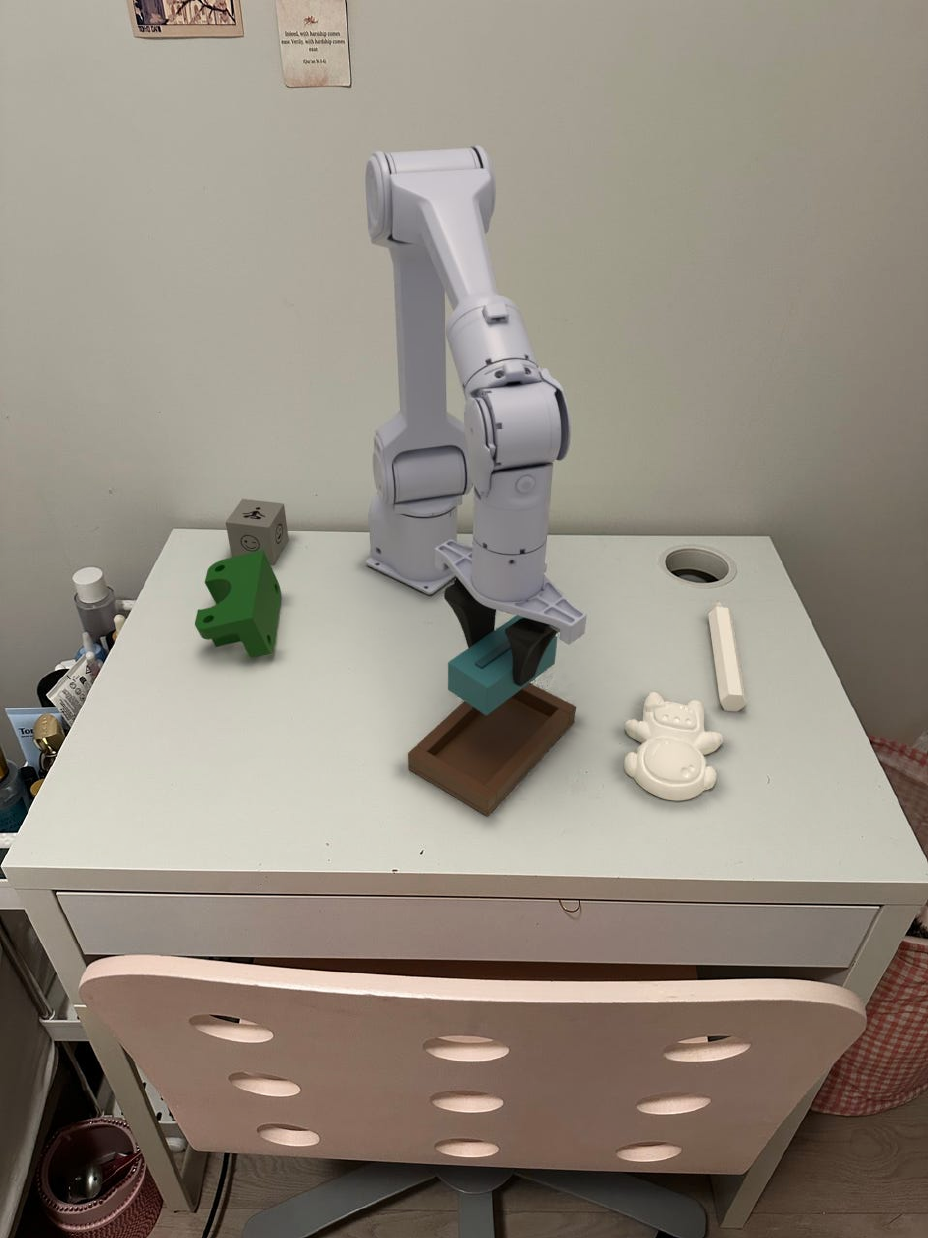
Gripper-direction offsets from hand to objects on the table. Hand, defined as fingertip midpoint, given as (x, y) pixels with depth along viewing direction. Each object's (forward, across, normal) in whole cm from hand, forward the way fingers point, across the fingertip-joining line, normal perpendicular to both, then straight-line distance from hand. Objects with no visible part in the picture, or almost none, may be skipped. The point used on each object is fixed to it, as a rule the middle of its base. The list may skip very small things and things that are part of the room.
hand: (502, 665), depth 80 cm
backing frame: (+8, -1, +1) cm, 9 cm away
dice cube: (+8, +39, -2) cm, 40 cm away
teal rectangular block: (+1, 0, 0) cm, 1 cm away
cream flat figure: (+9, -12, -10) cm, 18 cm away
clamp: (+9, +29, +7) cm, 31 cm away
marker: (+9, -9, -24) cm, 27 cm away
